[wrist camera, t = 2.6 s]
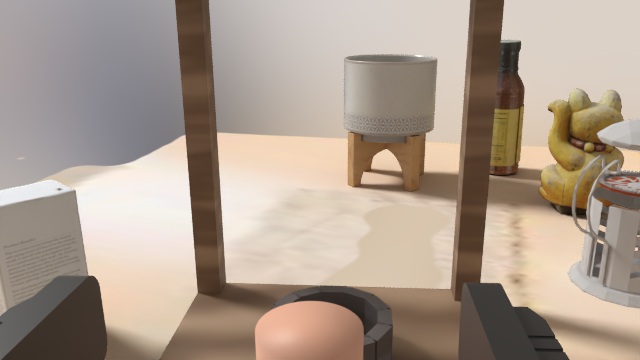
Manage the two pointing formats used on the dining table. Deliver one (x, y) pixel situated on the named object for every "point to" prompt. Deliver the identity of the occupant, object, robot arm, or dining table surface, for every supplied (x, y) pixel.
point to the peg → (309, 333)
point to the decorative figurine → (579, 148)
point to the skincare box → (38, 239)
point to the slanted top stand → (366, 302)
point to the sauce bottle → (507, 112)
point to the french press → (612, 226)
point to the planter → (388, 111)
